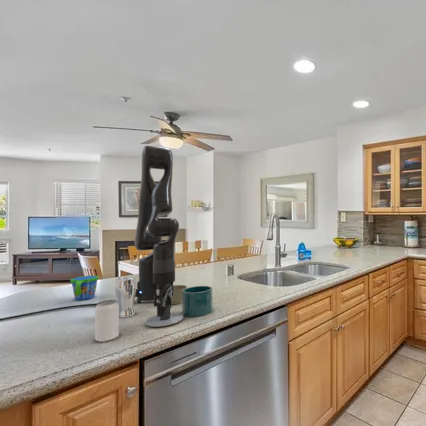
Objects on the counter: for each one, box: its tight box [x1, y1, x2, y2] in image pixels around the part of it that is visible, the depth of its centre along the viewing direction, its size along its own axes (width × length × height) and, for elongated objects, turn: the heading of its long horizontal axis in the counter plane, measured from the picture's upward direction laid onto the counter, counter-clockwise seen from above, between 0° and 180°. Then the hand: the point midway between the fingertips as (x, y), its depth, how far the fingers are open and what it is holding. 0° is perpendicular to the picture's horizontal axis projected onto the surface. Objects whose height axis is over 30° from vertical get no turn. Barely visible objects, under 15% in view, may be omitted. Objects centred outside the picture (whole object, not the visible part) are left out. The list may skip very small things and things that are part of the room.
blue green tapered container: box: [69, 275, 100, 301], centre depth 144 cm, size 16×10×10 cm
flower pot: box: [171, 284, 188, 306], centre depth 135 cm, size 10×10×7 cm
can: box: [94, 299, 120, 343], centre depth 98 cm, size 6×6×12 cm
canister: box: [181, 285, 214, 318], centre depth 123 cm, size 12×12×10 cm
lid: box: [145, 303, 184, 328], centre depth 112 cm, size 13×13×6 cm
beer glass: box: [115, 276, 137, 319], centre depth 120 cm, size 7×7×15 cm
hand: (164, 312), depth 112 cm, fingers open, 8 cm apart
